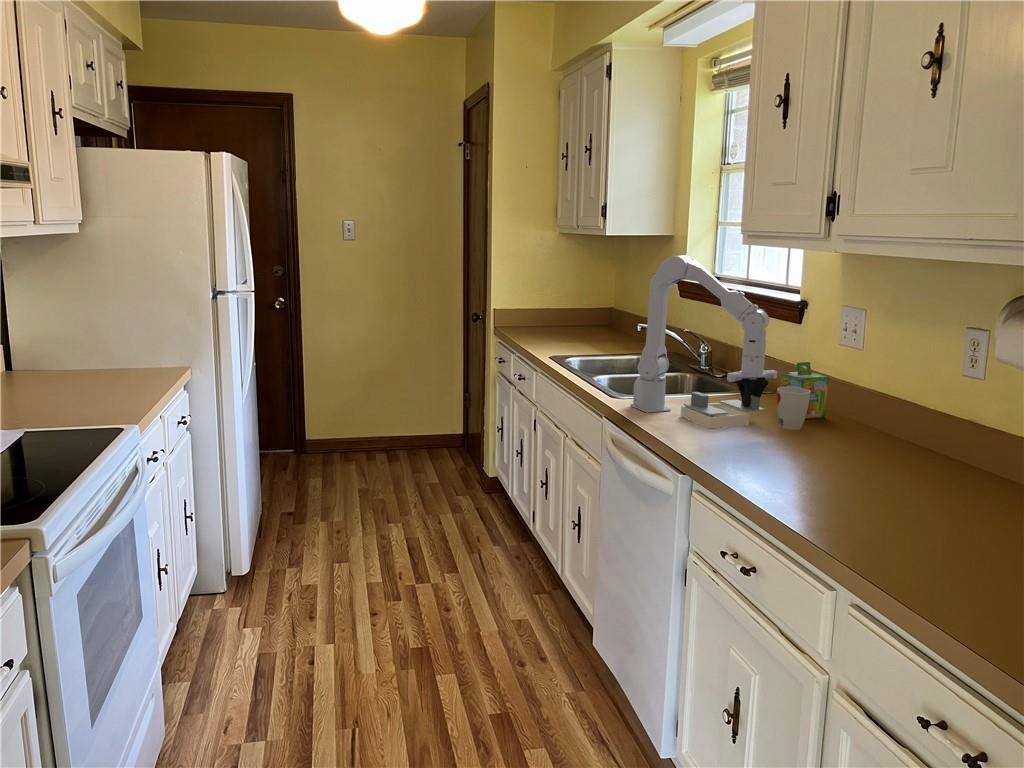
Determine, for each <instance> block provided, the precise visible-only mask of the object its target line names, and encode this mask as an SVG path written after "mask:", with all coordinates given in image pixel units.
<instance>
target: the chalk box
mask: <svg viewBox="0 0 1024 768" xmlns="http://www.w3.org/2000/svg"><path fill="white" fill-rule="evenodd" d="M802 367H806V370H805V371H803V370H802ZM796 368H797V371H790V372H782V373H781V377H780V379H781V380H780V387H798V388H804V389H808V390H810V397H809V404H808V409H807V413H806V416H805V420H807V419H808V420H809V419H821V418H823V417H825V418H826V410H827V409H826V408H827V399H828V388H829V380H830V378H829V377H828V376H826V375H822V374H818V373H813V372H812V369H811V368H812V367H811V362H810V361H804V362H803V361H801V362H797V363H796ZM823 419H824V418H823Z"/></svg>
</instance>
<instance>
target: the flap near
mask: <svg viewBox="0 0 1024 768" xmlns="http://www.w3.org/2000/svg"><path fill="white" fill-rule="evenodd" d="M708 404H709V395H708V394H705V393H702V392H699V391H691V396H690V403H683V406H687V407H689V408H692V409H695V410H697V411H700V412H702V413H705V414H707V415H721V414H728V412H726V411H723V410H721V409H718V408H715V407H712V406H710V405H708Z"/></svg>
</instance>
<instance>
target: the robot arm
mask: <svg viewBox="0 0 1024 768" xmlns="http://www.w3.org/2000/svg"><path fill="white" fill-rule="evenodd" d="M682 280H685V281H689V282H690V281H691V282H697V283H699V285H701V286H703V287H704V288H705V289H707V290H708V291H709V292H710V293H711V294H713V295H714V296H715V297H717V299H719V300H720V304H721V305H720V306H721V308H722V309H723V310H725V311H726V312H727V313H728V314H730V315H731V316H732V317H733V318H734V319H735V320H736V321H737V322H739V323H741V326H742V328H743V330H744V333H743V340H742V355H741V357H742V358H741V370H738V371H733V372H728V373H726V376H727V377H726V380H727V381H728V382H735V385H736V386H737V388H738V391H739V393H740V397H741V400H742V403H743V406H745V407H750V402H751V395H754V396H757V397H760V398H762V395H763V393H764V391H765V389H766V387H768V385H769V380H767V379H777V378H778V371H777V370H775V369H770V370H769V369H768V370H767V369H766V370H765V361H766V358H765V357H766V348H767V347H766V346H767V344H766V343H767V338H766V337H767V328H768V326H769V325H770V317H769V315H768V313H767V312H766V311H765V310H764V309H761V308H759V306H758V304H753V303H752V302H751V301H750V300H748V299H747V298H746V297H745V293H744V292H743V291H738V290H729V288H727V287H726V286H725V285H724V284H723V283H721V282H720V281H719V279H717V278H716V277H715V276H714V274H712V273H711V272H710V271H709V270H708V269H706V267H704V266H703V265H702V264H701V263H700V262H699V261H697V260H695V259H694V258H693V257H692V256H690V255H687V254H681V255H672V256H668V258H666V259H665V260H663V261H662V262H661V263H660V265H659V268H658V269H657V270H656V272H655V273H654V275H653V276H652V278H651V280H650V283H649V294H648V309H647V310H648V311H647V323H646V336H645V346H644V347H643V350H642V352H641V355H640V356H641V357H640V360H639V362H638V364H637V366H636V367H637V372H638V375H639V376H638V377H637V378H636V380H635V381H634V382H633V395H632V396H633V397H632V403H630V405H629V406H631V407H632V408H634V409H637V410H639V411H642V412H644V413H658V412H659V413H660V412H668V411H671V407H670V408H669V407H667V406H665V403H666V400H665V399H666V385H667V384H666V381H667V379H666V378H667V377H666V373H667V371H668V370H669V367H670V362H669V358H668V355H667V353H668V351H667V347H666V345H665V344H666V333H667V331H666V329H667V317H668V303H669V290H670V289H671V288H672V287H673V286H674V285H676V284H677V283H678V282H680V281H682Z"/></svg>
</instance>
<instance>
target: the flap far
mask: <svg viewBox="0 0 1024 768" xmlns="http://www.w3.org/2000/svg"><path fill="white" fill-rule="evenodd" d="M760 400H761V397H757V396H754V395H751V402H750V407H745V406H743V403H742V399H741V400H739V399H737V398H736V399H729V400H728V399H727V400H719V403H720V404H723V405H726V406H729V407H731V408H734V409H737V410H740V411H743V412H745V413H753V412H764V411H766V408H763V407H760V402H761V401H760Z"/></svg>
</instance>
